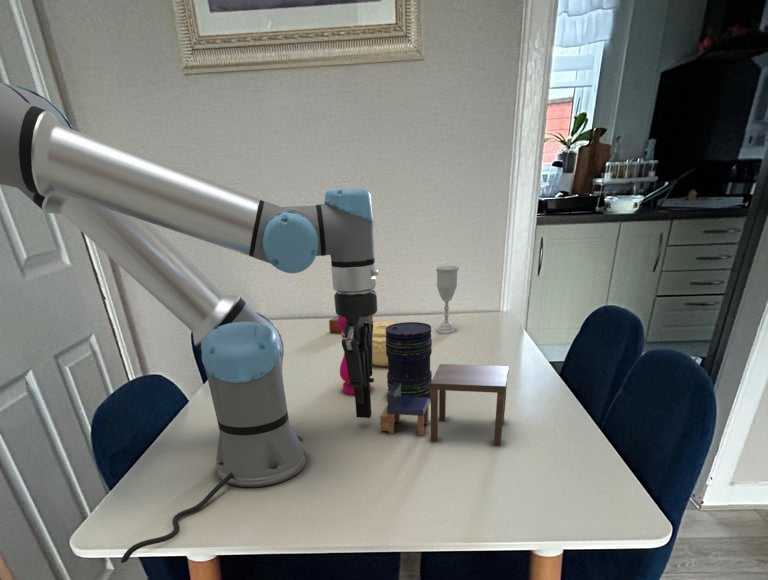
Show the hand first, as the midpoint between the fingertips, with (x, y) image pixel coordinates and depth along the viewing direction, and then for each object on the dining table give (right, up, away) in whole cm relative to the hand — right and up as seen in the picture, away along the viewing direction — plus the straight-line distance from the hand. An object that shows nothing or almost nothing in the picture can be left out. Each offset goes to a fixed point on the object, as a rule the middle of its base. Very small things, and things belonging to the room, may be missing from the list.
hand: (364, 416), depth 107 cm
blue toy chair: (+9, -3, -1) cm, 9 cm away
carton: (-6, +41, +68) cm, 79 cm away
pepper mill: (-2, +9, +18) cm, 20 cm away
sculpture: (+5, +20, +35) cm, 40 cm away
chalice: (+23, +37, +59) cm, 73 cm away
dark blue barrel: (+10, +7, +14) cm, 18 cm away
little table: (+20, -4, -4) cm, 21 cm away
